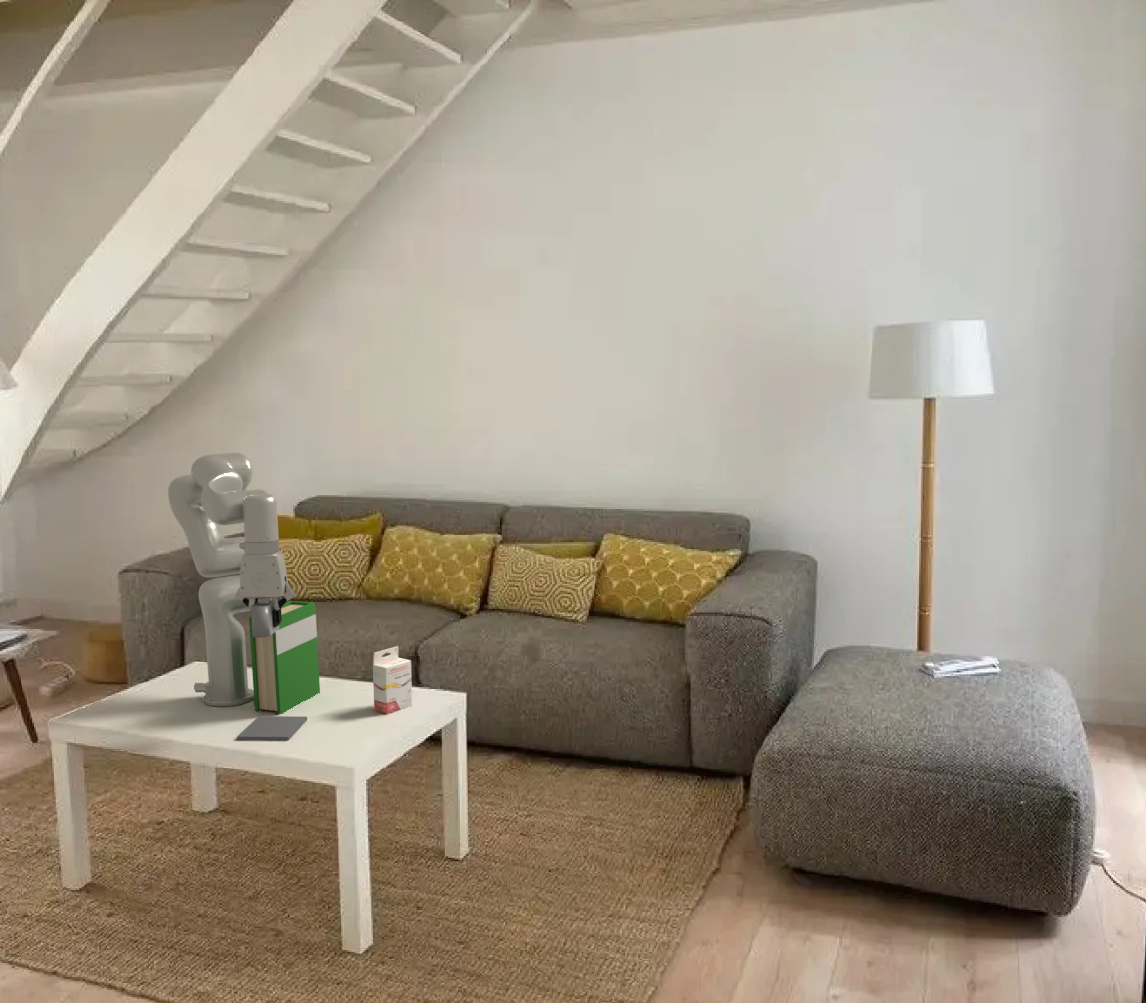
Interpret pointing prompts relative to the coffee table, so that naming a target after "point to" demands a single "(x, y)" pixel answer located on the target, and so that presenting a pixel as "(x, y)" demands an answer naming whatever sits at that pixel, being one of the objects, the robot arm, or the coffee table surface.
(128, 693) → the coffee table surface
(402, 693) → the ink cartridge box
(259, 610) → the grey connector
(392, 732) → the coffee table surface
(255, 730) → the charcoal mat
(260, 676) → the hardback book
